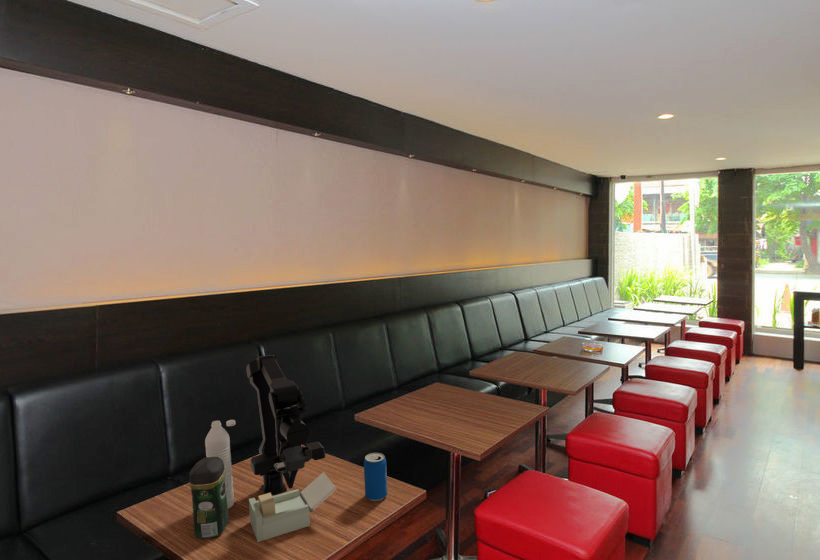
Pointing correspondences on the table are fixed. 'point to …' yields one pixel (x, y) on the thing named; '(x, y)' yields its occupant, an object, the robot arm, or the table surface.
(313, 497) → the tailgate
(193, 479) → the coffee jar
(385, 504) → the table surface
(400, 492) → the table surface
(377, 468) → the beverage can
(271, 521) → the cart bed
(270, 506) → the block
